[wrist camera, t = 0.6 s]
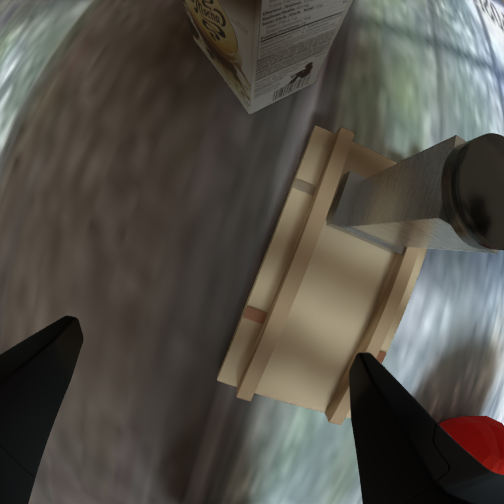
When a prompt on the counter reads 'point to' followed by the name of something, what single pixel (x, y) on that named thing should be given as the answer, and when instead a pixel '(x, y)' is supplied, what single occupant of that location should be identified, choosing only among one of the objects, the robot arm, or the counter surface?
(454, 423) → the tomato
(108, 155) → the counter surface
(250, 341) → the fader track
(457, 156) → the fader knob
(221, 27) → the coffee box
